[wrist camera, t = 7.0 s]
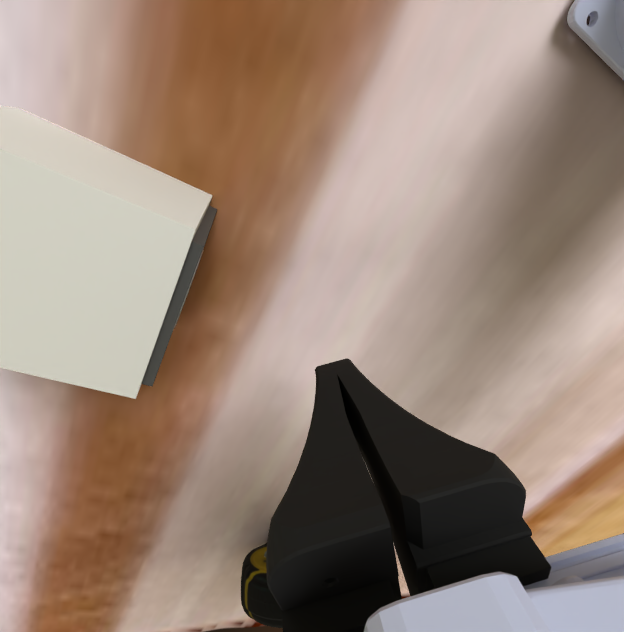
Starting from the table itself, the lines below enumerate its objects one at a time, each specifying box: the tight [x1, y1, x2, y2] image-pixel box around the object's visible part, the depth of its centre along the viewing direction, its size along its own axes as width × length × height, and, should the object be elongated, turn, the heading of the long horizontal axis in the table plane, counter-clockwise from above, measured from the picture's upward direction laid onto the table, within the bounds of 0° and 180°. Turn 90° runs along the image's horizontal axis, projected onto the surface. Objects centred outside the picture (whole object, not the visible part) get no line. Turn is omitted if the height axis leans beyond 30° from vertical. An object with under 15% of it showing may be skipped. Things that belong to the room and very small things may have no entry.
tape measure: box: [241, 544, 283, 628], centre depth 26 cm, size 7×7×4 cm
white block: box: [0, 106, 217, 399], centre depth 13 cm, size 8×7×6 cm
